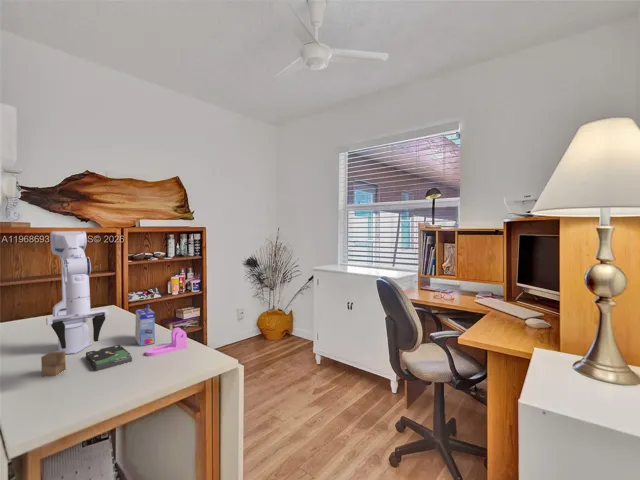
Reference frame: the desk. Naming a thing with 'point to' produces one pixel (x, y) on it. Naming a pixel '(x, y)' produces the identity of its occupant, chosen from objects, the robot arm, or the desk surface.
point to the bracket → (177, 344)
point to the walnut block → (53, 363)
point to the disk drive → (108, 357)
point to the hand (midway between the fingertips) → (80, 344)
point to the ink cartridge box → (145, 326)
